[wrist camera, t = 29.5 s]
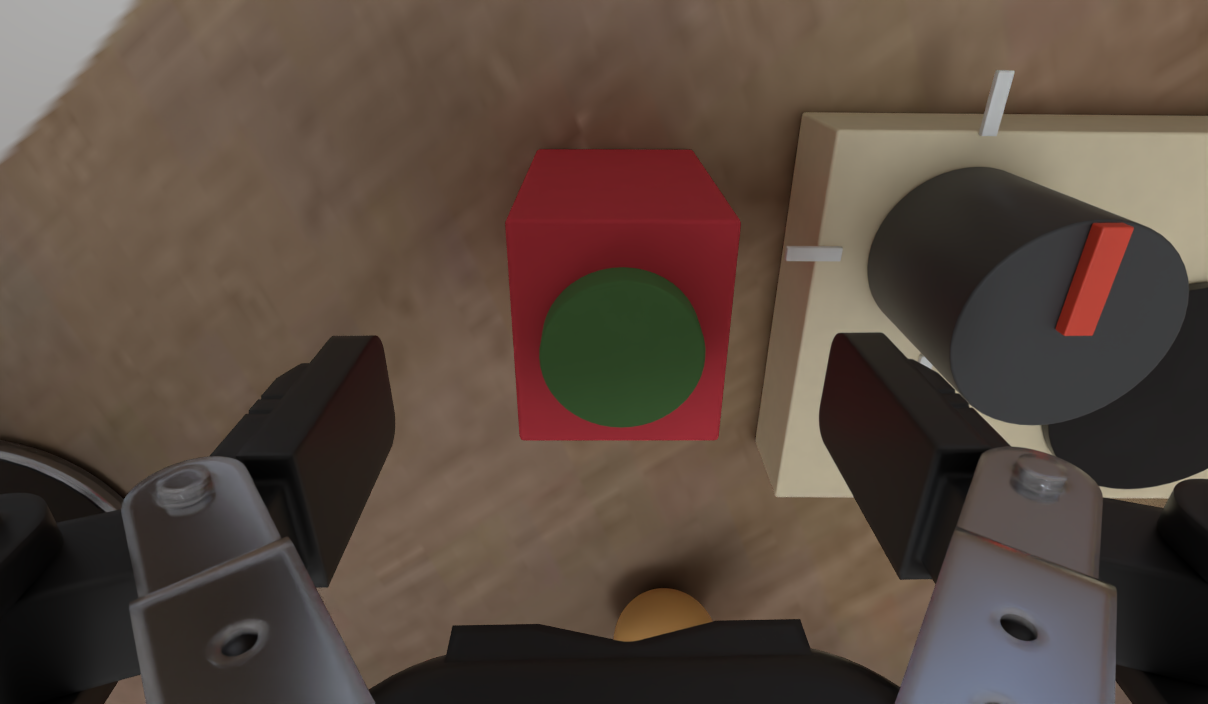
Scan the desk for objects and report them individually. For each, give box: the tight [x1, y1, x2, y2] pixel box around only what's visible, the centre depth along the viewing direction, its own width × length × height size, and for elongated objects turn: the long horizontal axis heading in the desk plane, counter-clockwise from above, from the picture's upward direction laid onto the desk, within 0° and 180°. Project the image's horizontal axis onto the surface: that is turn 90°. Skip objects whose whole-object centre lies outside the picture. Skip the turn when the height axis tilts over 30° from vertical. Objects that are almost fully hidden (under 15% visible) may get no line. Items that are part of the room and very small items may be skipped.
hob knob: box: [867, 167, 1189, 425], centre depth 14 cm, size 4×4×5 cm
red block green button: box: [505, 149, 741, 440], centre depth 16 cm, size 4×5×8 cm
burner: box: [1041, 282, 1208, 489], centre depth 18 cm, size 7×7×1 cm
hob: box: [755, 70, 1208, 498], centre depth 19 cm, size 15×12×3 cm
